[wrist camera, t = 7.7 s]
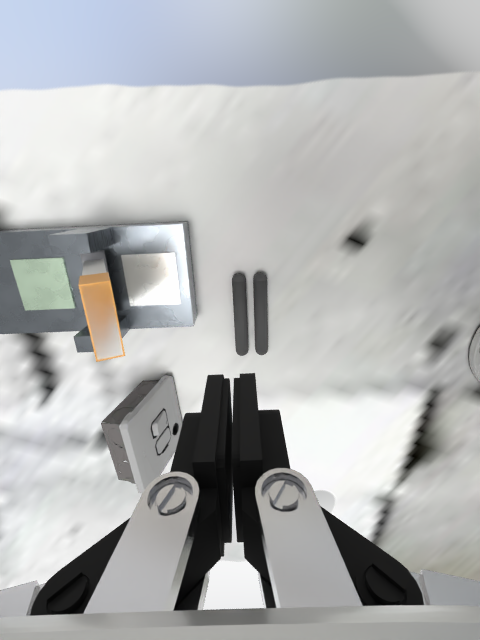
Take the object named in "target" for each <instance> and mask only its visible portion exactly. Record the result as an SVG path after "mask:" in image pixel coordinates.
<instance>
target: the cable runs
mask: <svg viewBox="0 0 480 640" xmlns="http://www.w3.org/2000/svg"><path fill="white" fill-rule="evenodd" d="M253 285H254V318H255V349H256V352H257V353H258V354H259V355H264V354H266V353H267V351H268V322H267V277H266V275H265V274H264V273H261V272H260V273H257V274H255V276H254V278H253ZM232 287H233V305H234V323H235V341H236V352H237V354H239V355H241V356H244V355H246V354H247V353H248V327H247V302H246V279H245V277H244V275H242V274H240V273H238V274H235V275H234V276H233V278H232Z"/></svg>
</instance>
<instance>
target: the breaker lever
mask: <svg viewBox="0 0 480 640" xmlns="http://www.w3.org/2000/svg"><path fill="white" fill-rule="evenodd" d="M80 256H81V261H82V265H83V271H82V276H80V278H79V284H78V285H79V290H80V294H81V298H82V302H83V307H84V311H85V315H86V319H87V324H88V328H89V332H90V336H91V340H92V345H93V349H94V353H95V357H96V362H98V361H103V360H107V359H112V358H117V357H121V356H125V352H124V347H123V342H122V337H121V332H120V327H119V322H118V317H117V312H116V307H115V302H114V297H113V292H112V287H111V281H110V277H109V272H108V267H107V262H106V257H105V252H104V250H98V251H95V252H92V253H84V254H80Z"/></svg>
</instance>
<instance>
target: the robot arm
mask: <svg viewBox="0 0 480 640" xmlns="http://www.w3.org/2000/svg"><path fill="white" fill-rule="evenodd" d="M469 362H470V367H471V370H472V372H473V374H474V376H475V377H476V378H477V379H478V381H480V327H479V329H478V330H477V332H476V334H475V336H474V338H473V340H472V343H471V347H470V352H469ZM233 490H234V504H235V518H236V531H237V542H244V555H245V559H246V560H247V561H248V562H249V563H250V564H251V565H252V566H253V567H254V568H255V569H256V570H257V571H258V575H259V584H260V589H261V594H262V600H263V605H264V608H259V609H220V610H203V606H204V601H205V597H206V592H207V587H208V582H209V570H210V569H211V568H212V567H213V566H214V565H215V564H216V562H218V561H219V560H220V559H221V556H224V543H231V541H232V502H233ZM0 640H480V581H476V580H472V579H467V578H462V577H457V576H453V575H448V574H443V573H438V572H434V571H429V570H424V569H421V572H420V574H419V573H414V572H409V571H408V569H406V568H405V567H404V566H403V565H402V564H401V563H400V562H398V561H397V560H396V559H394V558H393V557H392V556H390V555H389V554H387V553H386V552H384V551H383V550H382V549H380V548H379V547H377V546H376V545H375V544H373V543H372V542H370V541H369V540H368V539H366V538H365V537H363V536H362V535H360V534H359V533H358V532H356V531H355V530H353V529H352V528H351V527H349V526H348V525H346V524H345V523H343V522H342V521H341V520H339V519H338V518H336V517H335V516H334V515H332V514H331V513H329V512H328V511H326V510H325V509H324V508H322V507H321V506H320V505H319V502H318V500H317V498H316V495H315V493H314V491H313V488H312V486H311V484H310V483H309V481H308V480H307V479H306V478H305V477H304V476H303V475H302V474H301V473H299V472H297V471H295V470H292V469H290V465H289V459H288V454H287V448H286V443H285V438H284V432H283V427H282V421H281V416H280V411H279V410H258V403H257V391H256V379H255V373H249V374H240V378H234V395H233V423H232V408H231V393H230V380H229V378H226V379H224V375H208V377H207V383H206V388H205V394H204V400H203V405H202V411H201V413H186V414H185V416H184V419H183V423H182V427H181V431H180V435H179V439H178V443H177V447H176V451H175V455H174V459H173V463H172V467H171V471H170V473H166V474H163V475H161V476H159V477H157V478H155V479H154V480H153V481H152V482H151V483H150V484H149V485H148V486H147V487H146V489H145V490H144V492H143V494H142V496H141V498H140V500H139V502H138V504H137V506H136V508H135V510H134V512H133V514H132V516H131V518H129V519H128V520H127V521H125V522H124V523H123V524H121V525H120V526H119V527H117V528H116V529H115V530H113V531H112V532H110V533H109V534H108V535H106V536H105V537H104V538H102V539H101V540H100V541H98V542H97V543H96V544H94V545H93V546H92V547H90V548H89V549H88V550H86V551H85V552H84V553H82V554H81V555H80V556H78V557H77V558H75V559H74V560H73V561H71V562H70V563H69V564H67V565H66V566H65V567H63V568H62V569H61V570H59V571H58V572H57V573H56V574H55V575H54V576H52V577H51V578H50V579H49V580H48V581H47V582H46V583H45V584H41V585H39V584H38V582H37V581H33V582H29V583H26V584H22V585H18V586H15V587H11V588H7V589H4V590H0Z"/></svg>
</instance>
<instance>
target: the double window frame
mask: <svg viewBox="0 0 480 640" xmlns="http://www.w3.org/2000/svg"><path fill="white" fill-rule="evenodd" d="M98 250H104V252H105V257H106V262H107V267H108V272H109V277H110V281H111V287H112V292H113V297H114V302H115V307H116V312H117V317H118V322H119V327H120V332H121V337H122V338H123V337H124V335H125V334H126V333H127V332H128V331H129V329H137V328H162V327H186V326H194V323H195V321H196V318H197V309H196V299H195V289H194V279H193V269H192V259H191V249H190V239H189V229H188V222H167V223H145V224H124V225H103V226H81V227H60V228H39V229H17V230H0V334H15V333H40V332H64V331H80V332H79V333H77V334H76V335H75V336H74V340H75V344H76V348H77V352H94V349H93V345H92V340H91V336H90V332H89V328H88V324H87V319H86V315H85V311H84V307H83V302H82V298H81V294H80V290H79V285H78V284H79V278H80V276H82V271H83V265H82V261H81V256H80V254H84V253H92V252H95V251H98Z"/></svg>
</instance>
